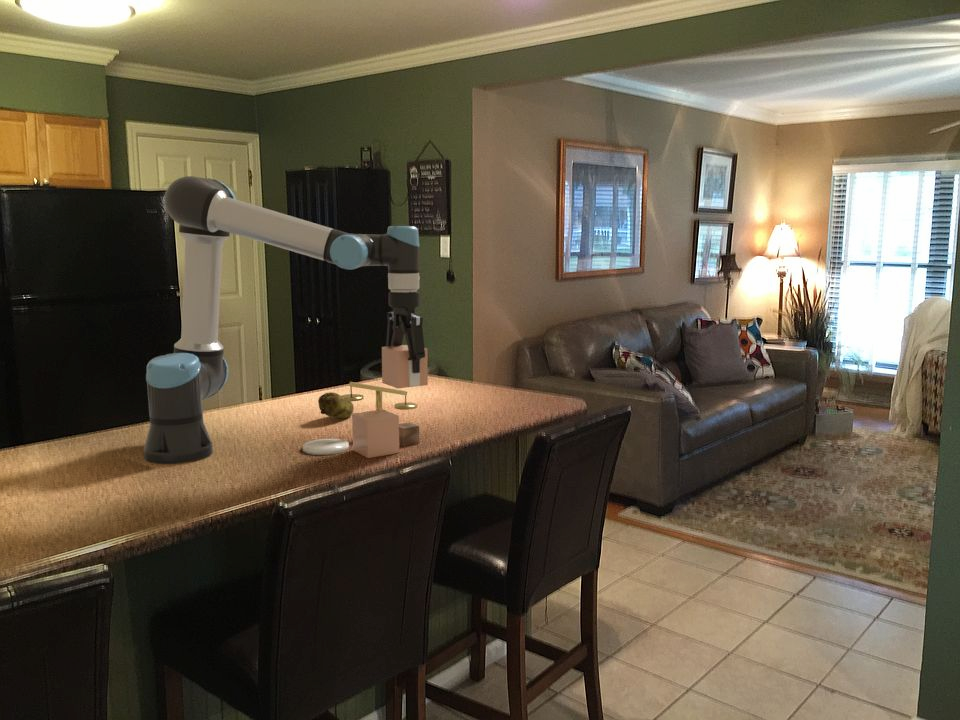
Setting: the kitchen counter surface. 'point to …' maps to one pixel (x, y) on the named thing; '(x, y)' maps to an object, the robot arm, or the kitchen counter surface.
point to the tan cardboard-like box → (375, 433)
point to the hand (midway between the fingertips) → (405, 382)
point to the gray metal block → (408, 434)
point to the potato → (335, 406)
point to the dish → (325, 446)
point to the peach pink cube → (401, 366)
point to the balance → (377, 396)
